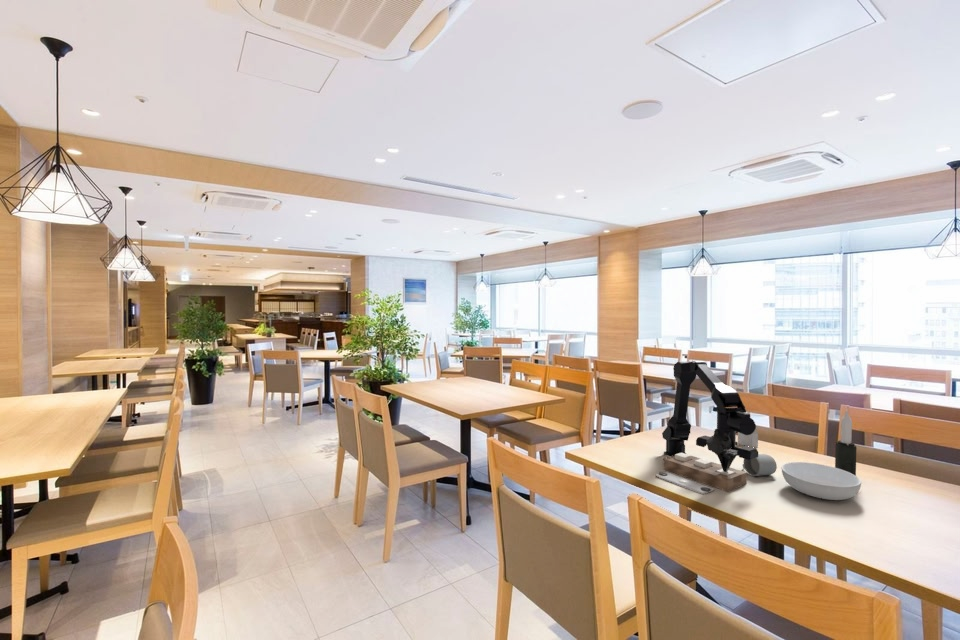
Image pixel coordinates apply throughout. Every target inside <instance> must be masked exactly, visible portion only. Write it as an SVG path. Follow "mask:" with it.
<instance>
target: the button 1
mask: <svg viewBox="0 0 960 640" xmlns="http://www.w3.org/2000/svg"><path fill="white" fill-rule="evenodd" d="M685 453H686V452H685ZM685 453H678V454H675V459H677V460H680V461H683V462H687V461H690V460H691V456H692V455H691V454H687V453H686V454H685Z"/></svg>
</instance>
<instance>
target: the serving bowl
mask: <svg viewBox="0 0 960 640" xmlns="http://www.w3.org/2000/svg"><path fill="white" fill-rule="evenodd" d="M781 473H782V476H783V479H784V480H785V482H786V483H787V484H788V485H789V486H791V488H793V489H794V490H796V491H797V492H800V493H802V494H805V495H807V496H811V497H814V498H818V499H821V498H822V500H830V501H833V500H834V501H842V500H848V499H851V498H853V497H855V496H856V495H857V494H858V493H859V491H860V489H861V486H862V479H861V478H860V477H858V476H857V475H856V476H855V475H854V474H852V473H849V472H847V471H844V470H841V469H838V468H835V466H832V465H831V466H830V465H825V464H820V463H813V462H808V461H807V462H805V461H792V462H786V463H783V464H781Z"/></svg>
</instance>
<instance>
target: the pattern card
mask: <svg viewBox="0 0 960 640" xmlns="http://www.w3.org/2000/svg"><path fill="white" fill-rule="evenodd" d="M655 476H657V477H659V478H658V479H660V478H662V479H661V480H663V479H664V480H663V481H665V480H667V481H666V482H668V481H669V482H668V483H671V482H672V483H671V484H674V485H676V484H677V486H679V487H682V488H685V489H687V490H690V491H693V492H696V493H698V494H700V493H701V495H706V494H708V493H711V492H713V490H714V488H713V487H711V486H708V485H706V484H703V483H700V482H699V483H698V482H696V481H694V480H693V481H692V480H690V479H689V478H686V477H685V478H684V477H683V476H680V475H677V474H674V473H672V472H669V471H664V472H661V471H660V472H658V474H655ZM657 477H656V478H657ZM705 493H706V494H705Z"/></svg>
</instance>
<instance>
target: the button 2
mask: <svg viewBox="0 0 960 640" xmlns="http://www.w3.org/2000/svg"><path fill="white" fill-rule="evenodd" d="M717 472H718V473H721V474H724V475H727V476H730V475H733V474H734V473H735V472H733V471H730V470H728V471H727V472H724V471H723V469H720V470H717Z"/></svg>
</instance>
